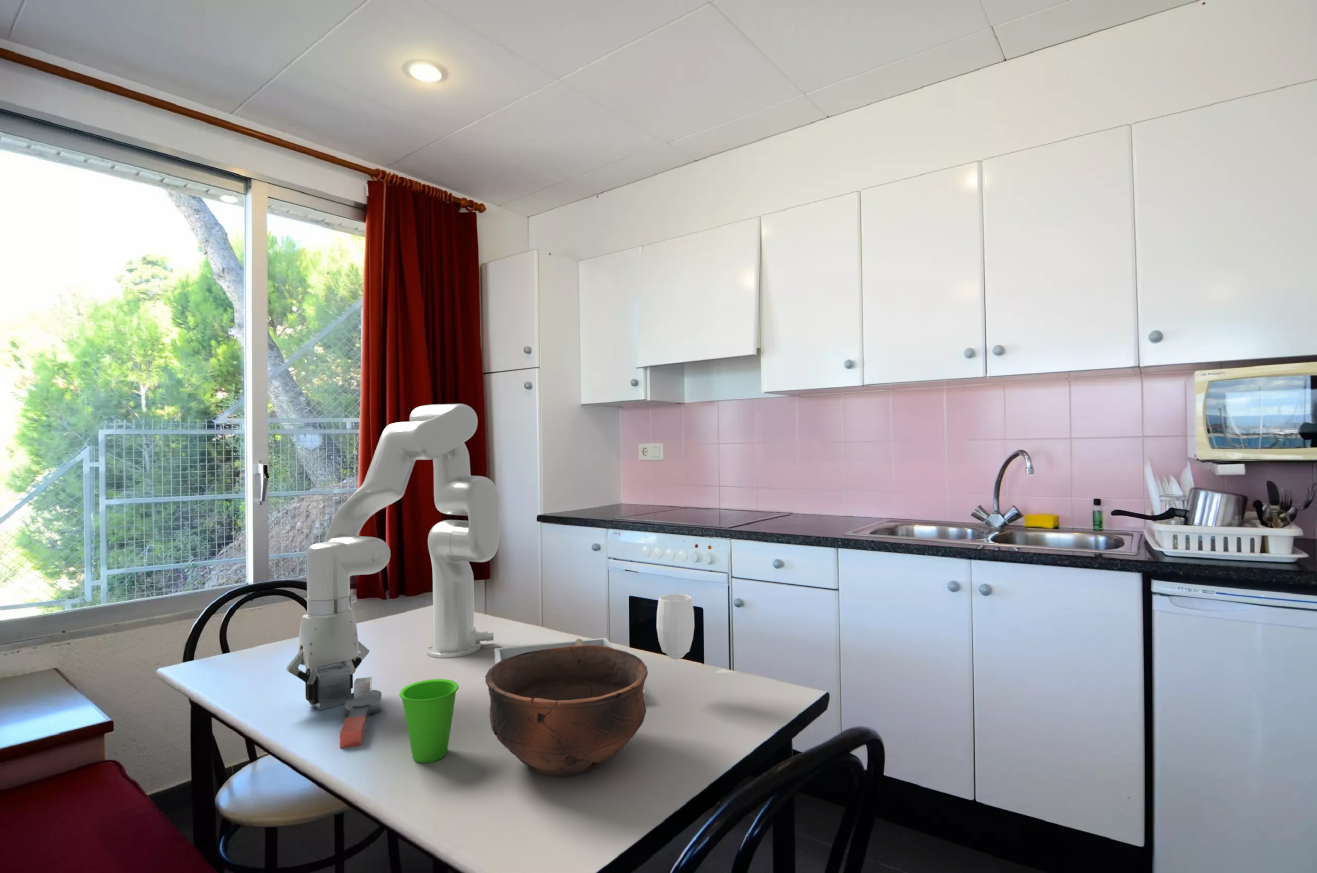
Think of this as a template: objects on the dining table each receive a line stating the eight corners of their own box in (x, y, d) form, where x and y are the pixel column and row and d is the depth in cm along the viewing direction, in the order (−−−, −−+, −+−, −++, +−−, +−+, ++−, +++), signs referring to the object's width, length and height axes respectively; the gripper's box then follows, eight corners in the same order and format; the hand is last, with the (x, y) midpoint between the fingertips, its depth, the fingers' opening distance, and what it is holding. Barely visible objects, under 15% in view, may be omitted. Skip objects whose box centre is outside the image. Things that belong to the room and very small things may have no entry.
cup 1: (425, 776, 101) (424, 704, 101) (388, 761, 106) (387, 692, 106) (471, 752, 109) (470, 685, 109) (434, 739, 114) (433, 675, 114)
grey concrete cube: (339, 694, 135) (338, 660, 135) (350, 702, 131) (349, 666, 131) (309, 702, 131) (309, 667, 131) (320, 710, 127) (319, 673, 127)
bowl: (503, 824, 89) (501, 710, 89) (475, 746, 111) (474, 655, 111) (673, 783, 99) (672, 681, 99) (616, 719, 121) (615, 636, 121)
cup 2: (697, 713, 123) (696, 601, 123) (658, 715, 123) (657, 602, 123) (693, 698, 131) (692, 592, 131) (656, 699, 130) (655, 593, 130)
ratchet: (347, 707, 128) (347, 676, 128) (383, 703, 130) (383, 672, 130) (329, 749, 111) (329, 713, 111) (371, 744, 113) (370, 708, 113)
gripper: (364, 595, 140) (365, 681, 140) (274, 611, 127) (275, 706, 127) (380, 600, 135) (381, 690, 134) (287, 618, 122) (288, 717, 122)
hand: (329, 697), depth 131 cm, fingers closed on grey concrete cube, 5 cm apart
